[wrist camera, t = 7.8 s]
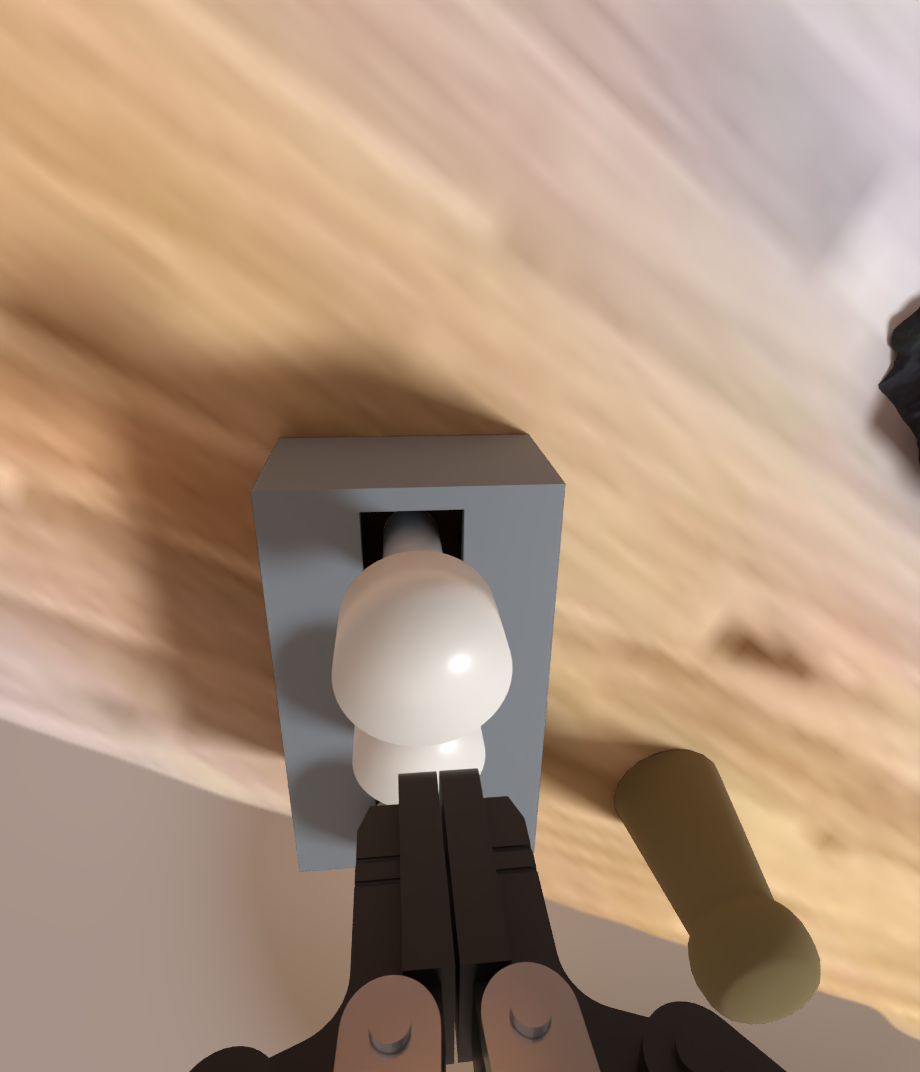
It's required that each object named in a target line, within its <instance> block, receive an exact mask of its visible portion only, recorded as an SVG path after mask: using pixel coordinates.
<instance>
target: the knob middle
mask: <svg viewBox="0 0 920 1072" xmlns="http://www.w3.org/2000/svg"><path fill="white" fill-rule="evenodd" d="M484 763H485V746H484V741H483V736H482V731H481V726H480V727H479V728H477V729H476V730H474V731H473V732H471V733H469V734H467V735H465V736H463V737H461V738H459V739H456V740H453V741H450V742H447V743H443V744H438V745H432V746H415V747H413V746H402V745H397V744H392V743H388V742H385V741H382V740H379V739H377V738H375V737H373V736H371V735H369V734H367V733H366V732H364V731H362V730H361V729H360V728H358V727H357V726H356V725H355V727H354V742H353V758H352V765H353V771H354V774H355V777H356V779H357V781H358V783H359V784H360V786H361V787H362V788H363V789H364V790H365V791H366V792H367V793H368V794H369V795H370V796H372V797H373V798H374V799H376V800H378V801H380V802H382V803H384V804H387V805H394V804H399V794H398V774H402V773H417V772H432V771H436V772H437V780H438V791H439V771H443V770H458V769H473V768H477V769H478V771H479V775H480V774H481V772H482V770H483V766H484Z"/></svg>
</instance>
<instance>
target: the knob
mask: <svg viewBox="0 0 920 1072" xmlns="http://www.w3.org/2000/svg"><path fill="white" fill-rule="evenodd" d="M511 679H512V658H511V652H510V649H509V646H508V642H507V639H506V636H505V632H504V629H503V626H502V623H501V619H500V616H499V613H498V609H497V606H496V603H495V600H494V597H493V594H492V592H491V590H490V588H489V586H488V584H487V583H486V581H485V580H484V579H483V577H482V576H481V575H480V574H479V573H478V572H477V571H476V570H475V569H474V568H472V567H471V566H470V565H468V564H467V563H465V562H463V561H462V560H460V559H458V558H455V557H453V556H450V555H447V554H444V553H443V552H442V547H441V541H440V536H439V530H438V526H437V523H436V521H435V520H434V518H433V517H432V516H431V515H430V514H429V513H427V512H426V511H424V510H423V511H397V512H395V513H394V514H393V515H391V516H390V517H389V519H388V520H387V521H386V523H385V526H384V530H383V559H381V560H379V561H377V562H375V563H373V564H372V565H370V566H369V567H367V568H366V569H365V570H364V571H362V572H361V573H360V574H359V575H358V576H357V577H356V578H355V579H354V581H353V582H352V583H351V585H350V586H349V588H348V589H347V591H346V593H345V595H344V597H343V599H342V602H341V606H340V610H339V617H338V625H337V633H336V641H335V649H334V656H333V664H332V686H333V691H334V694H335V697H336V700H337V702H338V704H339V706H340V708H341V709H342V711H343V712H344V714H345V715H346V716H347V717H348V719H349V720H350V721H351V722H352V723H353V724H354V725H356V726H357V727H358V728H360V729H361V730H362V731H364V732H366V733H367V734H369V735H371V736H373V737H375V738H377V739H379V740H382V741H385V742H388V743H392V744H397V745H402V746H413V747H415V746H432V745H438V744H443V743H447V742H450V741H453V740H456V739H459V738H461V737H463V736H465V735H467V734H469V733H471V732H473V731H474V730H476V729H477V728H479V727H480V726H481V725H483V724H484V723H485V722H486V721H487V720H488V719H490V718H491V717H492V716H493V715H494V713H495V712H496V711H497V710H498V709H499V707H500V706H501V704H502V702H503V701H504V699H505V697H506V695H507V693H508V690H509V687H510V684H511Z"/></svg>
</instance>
